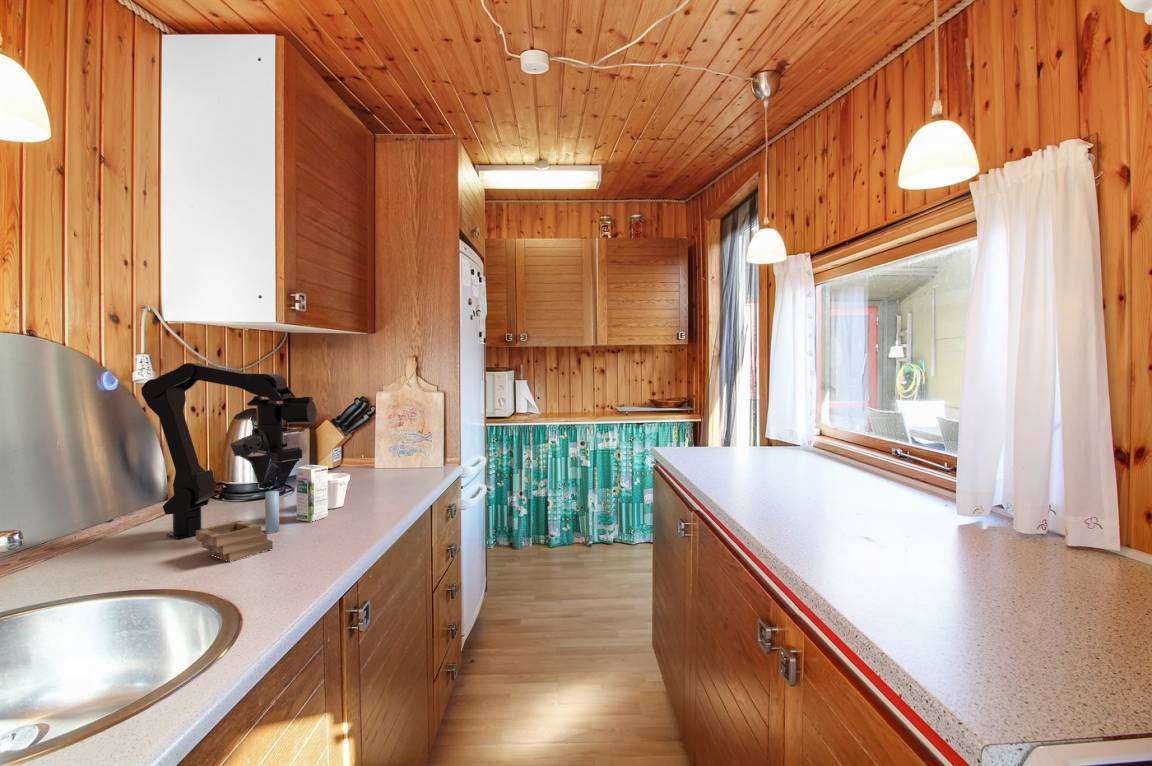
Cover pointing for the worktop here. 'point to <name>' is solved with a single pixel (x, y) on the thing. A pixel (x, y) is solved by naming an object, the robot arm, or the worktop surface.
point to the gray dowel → (272, 511)
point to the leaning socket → (234, 540)
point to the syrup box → (312, 492)
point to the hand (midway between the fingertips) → (270, 485)
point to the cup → (337, 489)
